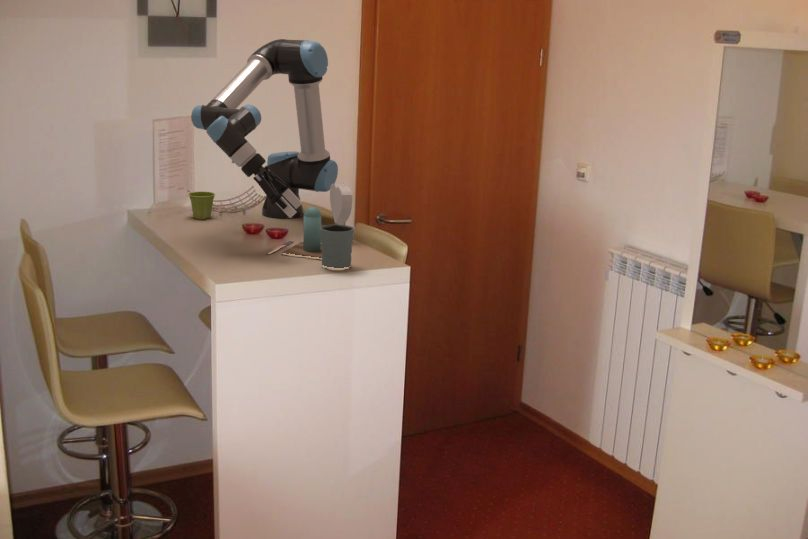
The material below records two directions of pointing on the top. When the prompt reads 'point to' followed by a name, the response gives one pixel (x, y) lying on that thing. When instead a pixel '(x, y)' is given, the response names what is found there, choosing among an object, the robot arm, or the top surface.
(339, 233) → the grey textured cup
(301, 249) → the board
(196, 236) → the top surface
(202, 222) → the top surface
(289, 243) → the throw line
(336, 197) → the heart sculpture
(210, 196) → the plant pot
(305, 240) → the teal domed cylinder
